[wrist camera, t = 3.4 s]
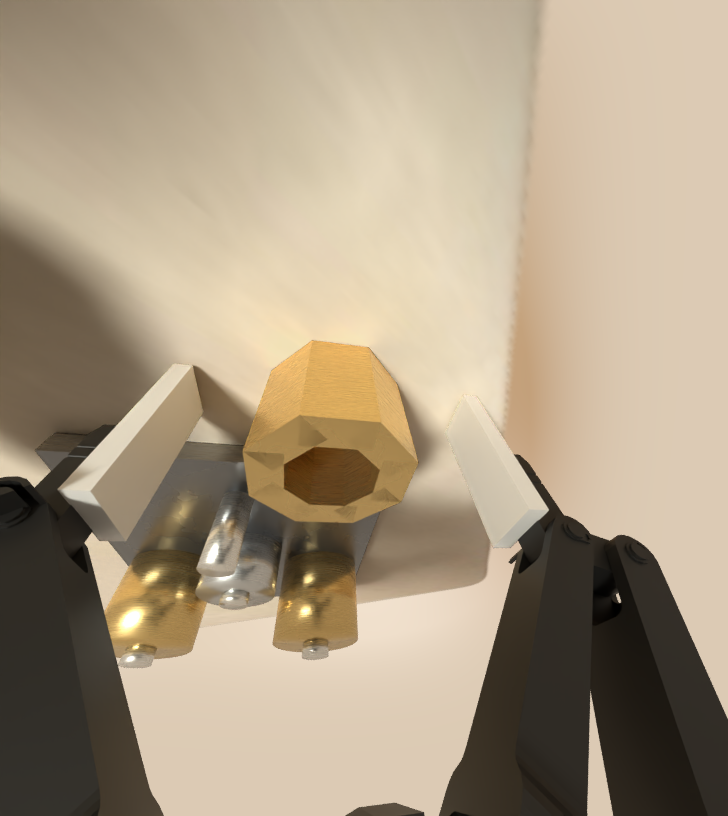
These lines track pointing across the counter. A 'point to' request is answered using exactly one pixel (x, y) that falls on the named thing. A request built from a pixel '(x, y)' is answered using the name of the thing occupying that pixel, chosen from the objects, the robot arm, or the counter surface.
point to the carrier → (226, 561)
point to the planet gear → (329, 437)
